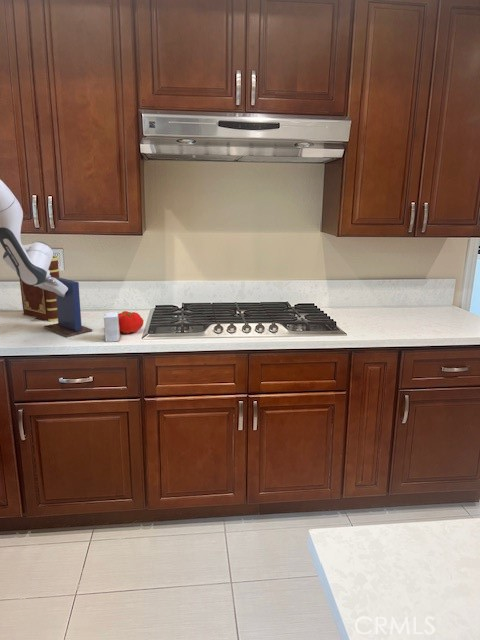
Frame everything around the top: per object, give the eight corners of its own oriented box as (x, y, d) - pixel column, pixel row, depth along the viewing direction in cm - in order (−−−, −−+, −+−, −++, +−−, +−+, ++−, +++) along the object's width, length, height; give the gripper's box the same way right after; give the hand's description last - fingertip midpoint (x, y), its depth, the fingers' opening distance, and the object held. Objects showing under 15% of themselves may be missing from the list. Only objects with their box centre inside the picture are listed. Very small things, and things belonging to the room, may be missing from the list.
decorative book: (66, 319, 224) (60, 256, 216) (52, 322, 218) (45, 258, 210) (37, 312, 236) (31, 253, 228) (23, 315, 229) (16, 254, 221)
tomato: (146, 333, 202) (145, 314, 200) (117, 336, 198) (116, 317, 195) (140, 326, 214) (140, 308, 211) (113, 329, 209) (111, 310, 207)
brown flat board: (66, 337, 195) (66, 335, 195) (44, 328, 208) (43, 326, 208) (92, 332, 204) (92, 329, 204) (69, 323, 217) (68, 321, 217)
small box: (119, 341, 191) (117, 316, 189) (105, 342, 190) (103, 317, 188) (120, 335, 199) (118, 312, 196) (106, 336, 198) (104, 312, 195)
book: (75, 331, 201) (72, 283, 195) (58, 324, 210) (54, 278, 205) (81, 329, 203) (78, 282, 197) (64, 323, 212) (60, 277, 207)
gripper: (55, 272, 186) (79, 293, 195) (32, 267, 199) (56, 286, 209) (45, 285, 184) (71, 305, 193) (23, 278, 197) (47, 297, 207)
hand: (63, 295), depth 201 cm, fingers closed, pressing on book
